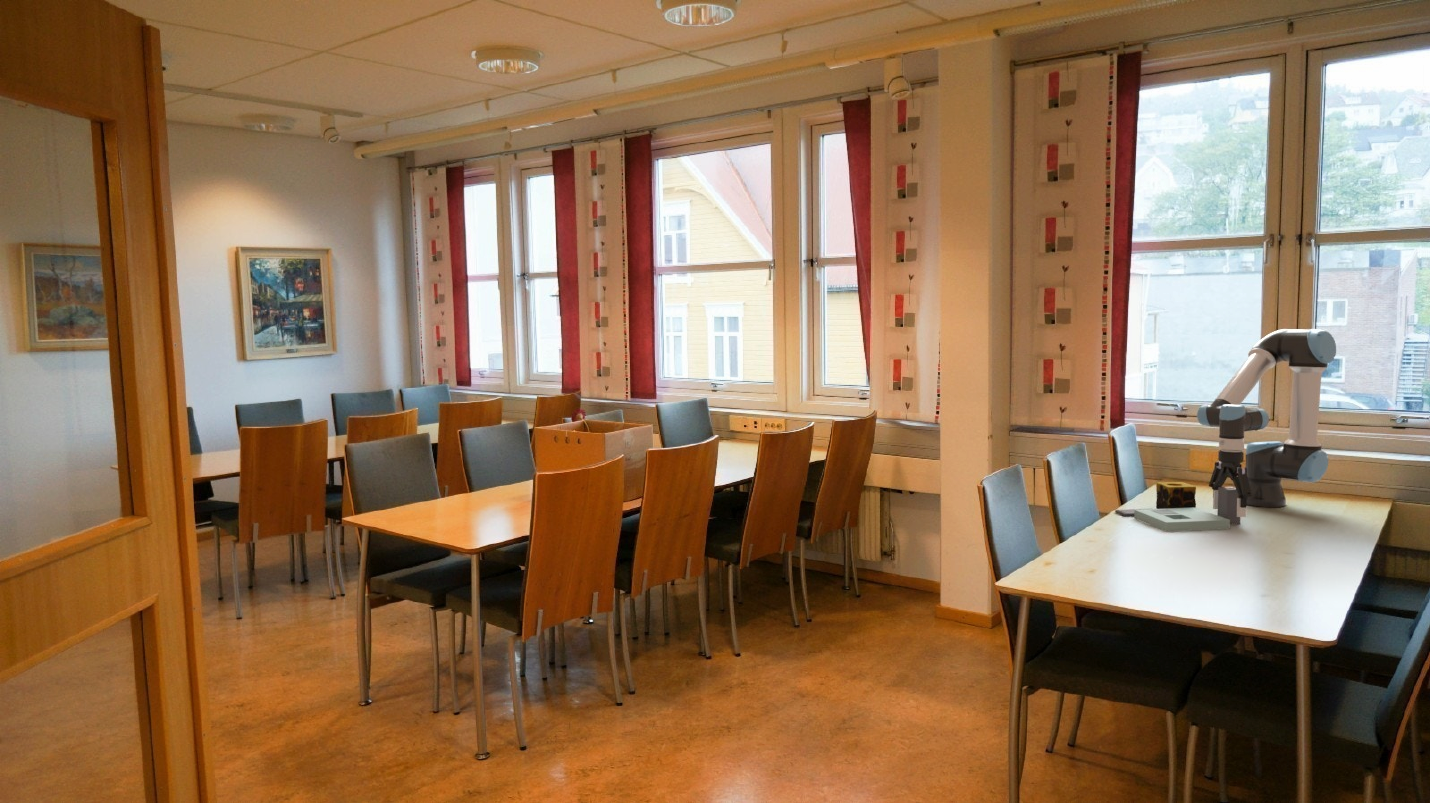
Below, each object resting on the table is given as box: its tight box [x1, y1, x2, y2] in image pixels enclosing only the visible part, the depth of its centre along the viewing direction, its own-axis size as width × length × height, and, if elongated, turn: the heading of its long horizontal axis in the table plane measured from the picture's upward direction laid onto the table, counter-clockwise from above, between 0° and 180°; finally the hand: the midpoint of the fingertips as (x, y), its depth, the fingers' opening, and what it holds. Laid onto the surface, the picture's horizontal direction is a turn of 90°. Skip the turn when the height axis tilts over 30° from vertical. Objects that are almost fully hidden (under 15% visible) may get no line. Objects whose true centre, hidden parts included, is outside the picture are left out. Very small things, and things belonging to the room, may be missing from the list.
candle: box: [1155, 481, 1197, 509], centre depth 343 cm, size 10×10×10 cm
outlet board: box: [1134, 507, 1231, 532], centre depth 325 cm, size 22×20×3 cm
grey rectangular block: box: [1216, 486, 1242, 526], centre depth 324 cm, size 5×5×12 cm
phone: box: [1114, 508, 1145, 518], centre depth 340 cm, size 14×7×1 cm, turn 95°
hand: (1229, 512), depth 324 cm, fingers open, 12 cm apart
